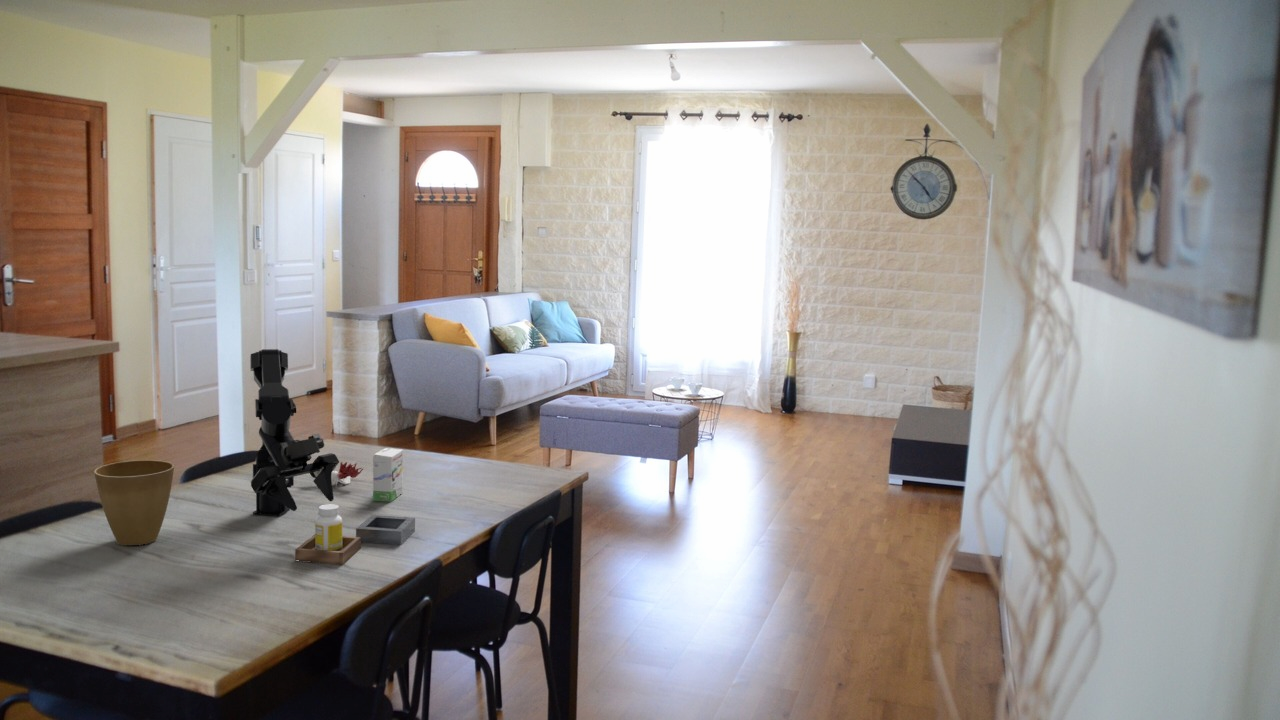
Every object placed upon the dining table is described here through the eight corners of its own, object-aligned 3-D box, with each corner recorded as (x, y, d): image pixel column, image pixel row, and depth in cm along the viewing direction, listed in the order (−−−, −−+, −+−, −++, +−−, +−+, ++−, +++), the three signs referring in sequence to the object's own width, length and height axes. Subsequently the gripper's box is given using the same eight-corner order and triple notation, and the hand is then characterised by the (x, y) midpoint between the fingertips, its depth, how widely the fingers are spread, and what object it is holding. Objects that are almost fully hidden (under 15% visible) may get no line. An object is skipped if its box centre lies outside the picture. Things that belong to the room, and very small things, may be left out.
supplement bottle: (345, 548, 205) (345, 503, 204) (338, 556, 200) (338, 510, 199) (319, 547, 205) (319, 502, 204) (311, 556, 200) (311, 510, 198)
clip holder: (356, 541, 211) (356, 528, 211) (371, 527, 221) (372, 515, 221) (400, 544, 210) (401, 531, 210) (414, 530, 220) (415, 517, 220)
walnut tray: (295, 561, 198) (295, 549, 197) (315, 545, 208) (315, 534, 207) (343, 564, 197) (343, 552, 197) (360, 548, 207) (360, 537, 207)
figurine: (375, 482, 258) (375, 458, 257) (352, 493, 247) (352, 468, 246) (325, 476, 262) (325, 452, 261) (300, 487, 251) (300, 462, 250)
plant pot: (191, 534, 211) (189, 463, 209) (139, 556, 197) (136, 479, 194) (134, 526, 215) (132, 455, 212) (79, 546, 200) (76, 471, 198)
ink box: (391, 502, 241) (391, 456, 239) (372, 500, 242) (372, 454, 240) (403, 493, 249) (403, 448, 248) (384, 491, 250) (385, 447, 248)
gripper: (258, 430, 197) (293, 493, 192) (333, 417, 212) (367, 475, 208) (235, 461, 202) (269, 523, 198) (310, 446, 217) (343, 503, 213)
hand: (314, 505), depth 204 cm, fingers open, 9 cm apart
